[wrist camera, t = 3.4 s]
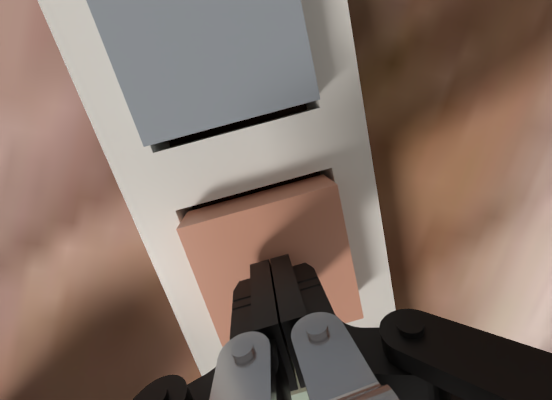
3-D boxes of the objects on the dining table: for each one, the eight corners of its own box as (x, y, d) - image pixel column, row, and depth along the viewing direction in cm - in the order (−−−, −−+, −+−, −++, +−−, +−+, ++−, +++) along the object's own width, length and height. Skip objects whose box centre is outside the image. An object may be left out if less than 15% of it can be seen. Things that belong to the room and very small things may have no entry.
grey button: (269, -80, 10) (274, -130, 8) (308, 102, 11) (320, 99, 9) (95, -36, 9) (56, -75, 8) (161, 142, 11) (143, 146, 9)
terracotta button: (323, 174, 12) (337, 184, 10) (347, 290, 14) (363, 318, 12) (187, 211, 12) (176, 229, 10) (229, 324, 14) (226, 357, 12)
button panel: (296, -154, 11) (310, -234, 8) (397, 412, 19) (418, 453, 17) (34, -89, 10) (-29, -151, 8) (255, 453, 19) (256, 501, 17)
